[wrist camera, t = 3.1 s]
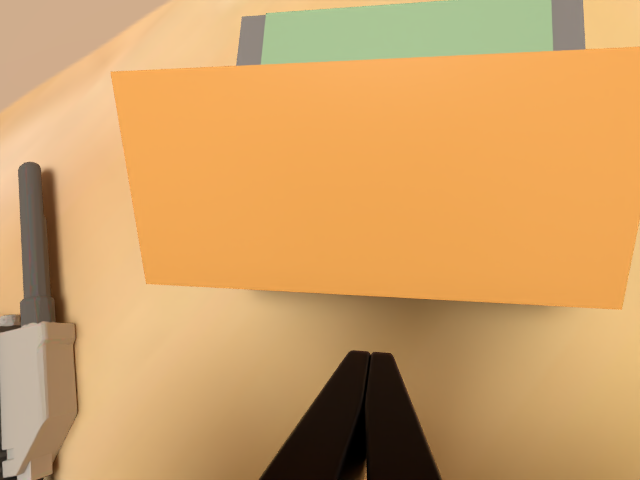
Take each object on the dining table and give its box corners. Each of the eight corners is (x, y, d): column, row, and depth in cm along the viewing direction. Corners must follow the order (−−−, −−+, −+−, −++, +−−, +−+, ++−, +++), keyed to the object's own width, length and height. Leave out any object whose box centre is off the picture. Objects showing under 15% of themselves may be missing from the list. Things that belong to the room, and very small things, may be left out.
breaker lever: (480, 159, 15) (621, 310, 5) (314, 160, 16) (146, 283, 6) (486, 75, 14) (674, 45, 4) (311, 82, 15) (110, 71, 5)
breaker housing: (553, 302, 17) (627, 287, 11) (250, 286, 19) (187, 267, 14) (546, 62, 19) (605, -52, 13) (271, 74, 21) (223, -19, 16)
